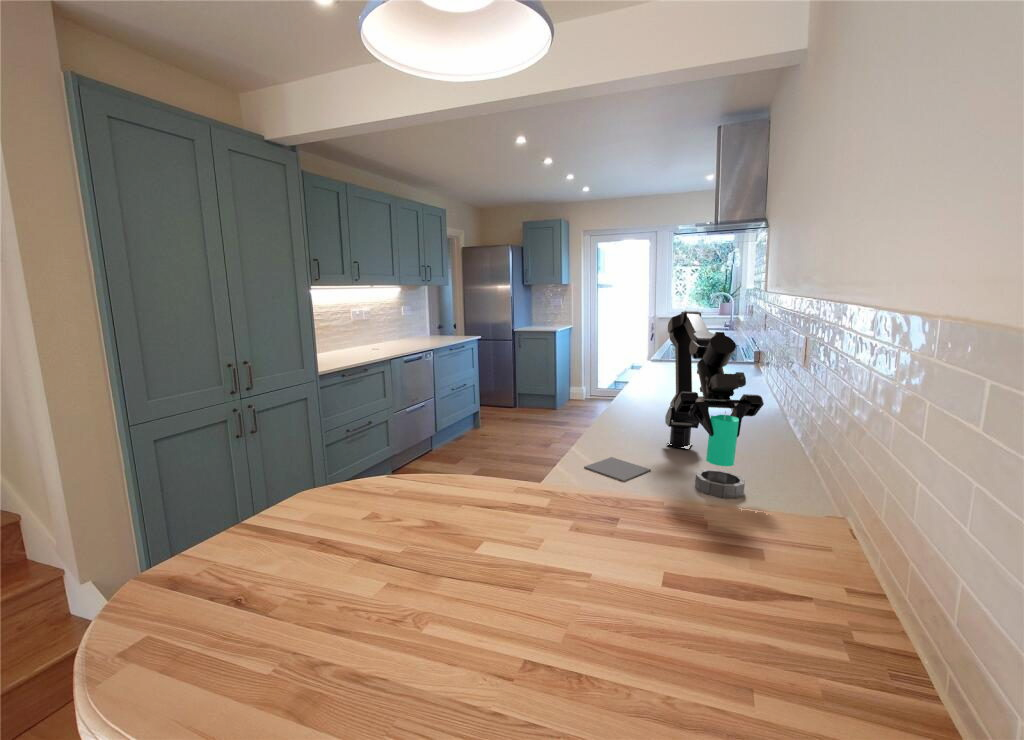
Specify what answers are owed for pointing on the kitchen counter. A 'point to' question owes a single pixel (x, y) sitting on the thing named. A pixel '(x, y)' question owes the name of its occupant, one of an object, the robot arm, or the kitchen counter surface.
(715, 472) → the ring holder
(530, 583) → the kitchen counter surface
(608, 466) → the mat
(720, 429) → the candle
